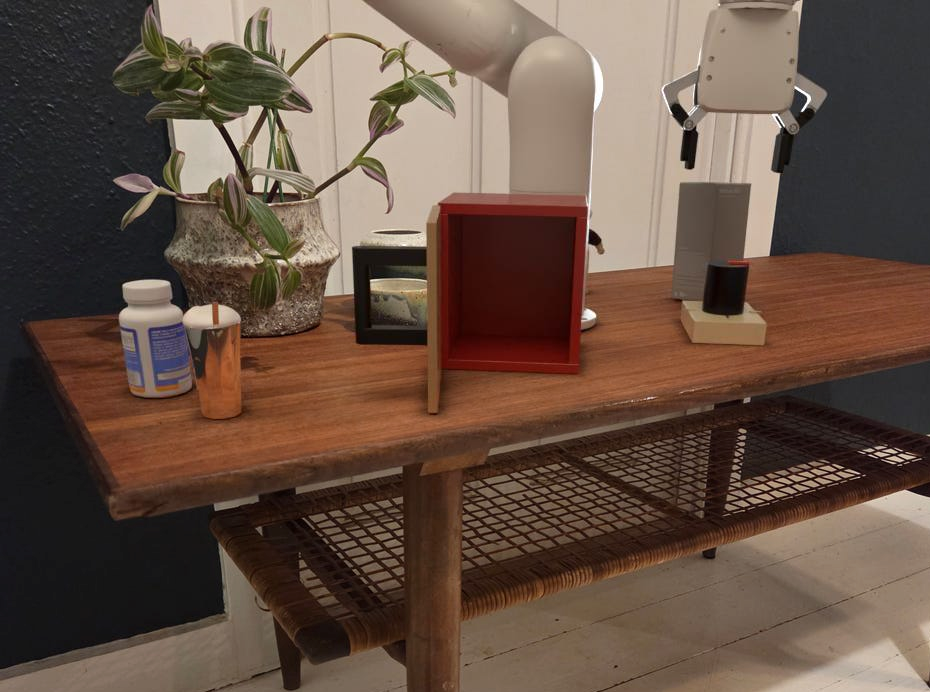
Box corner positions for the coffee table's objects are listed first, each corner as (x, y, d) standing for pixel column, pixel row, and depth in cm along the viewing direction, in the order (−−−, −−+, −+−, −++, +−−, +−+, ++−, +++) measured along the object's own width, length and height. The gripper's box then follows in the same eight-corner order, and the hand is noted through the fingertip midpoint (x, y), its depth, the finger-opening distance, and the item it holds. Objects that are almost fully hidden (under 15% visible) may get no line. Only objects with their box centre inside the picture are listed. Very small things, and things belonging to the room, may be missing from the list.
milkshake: (198, 427, 71) (184, 304, 67) (190, 408, 76) (176, 291, 72) (255, 421, 73) (244, 300, 69) (244, 403, 77) (233, 288, 74)
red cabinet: (578, 374, 87) (588, 206, 81) (438, 368, 89) (437, 202, 82) (577, 345, 98) (586, 195, 92) (453, 340, 100) (453, 192, 93)
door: (355, 412, 75) (346, 221, 69) (371, 368, 88) (365, 204, 82) (437, 413, 75) (436, 222, 69) (441, 369, 88) (440, 205, 82)
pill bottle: (199, 382, 83) (187, 278, 79) (183, 399, 78) (169, 289, 74) (140, 382, 83) (126, 277, 79) (121, 399, 78) (104, 288, 74)
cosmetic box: (707, 306, 119) (721, 183, 113) (665, 298, 124) (676, 180, 118) (742, 299, 125) (757, 181, 119) (700, 291, 130) (713, 178, 123)
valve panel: (676, 320, 111) (678, 299, 110) (748, 322, 110) (751, 301, 109) (687, 342, 100) (690, 319, 99) (768, 345, 99) (771, 322, 98)
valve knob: (704, 314, 102) (710, 263, 100) (698, 306, 107) (704, 257, 104) (747, 315, 102) (753, 264, 100) (739, 307, 106) (745, 258, 104)
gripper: (831, 2, 94) (803, 171, 101) (668, -2, 95) (651, 165, 102) (852, -6, 87) (821, 176, 94) (676, -11, 89) (657, 169, 95)
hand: (732, 170), depth 98 cm, fingers open, 9 cm apart
